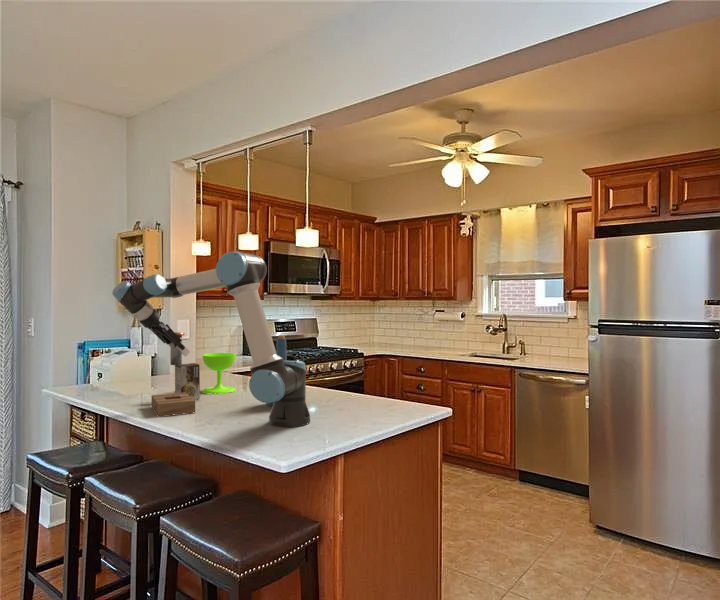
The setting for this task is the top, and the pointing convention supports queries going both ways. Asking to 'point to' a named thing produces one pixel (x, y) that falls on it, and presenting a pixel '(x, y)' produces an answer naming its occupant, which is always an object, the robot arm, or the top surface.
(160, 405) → the walnut socket block
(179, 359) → the metal pin
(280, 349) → the wine bottle
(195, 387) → the coffee box
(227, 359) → the wineglass
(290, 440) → the top surface
